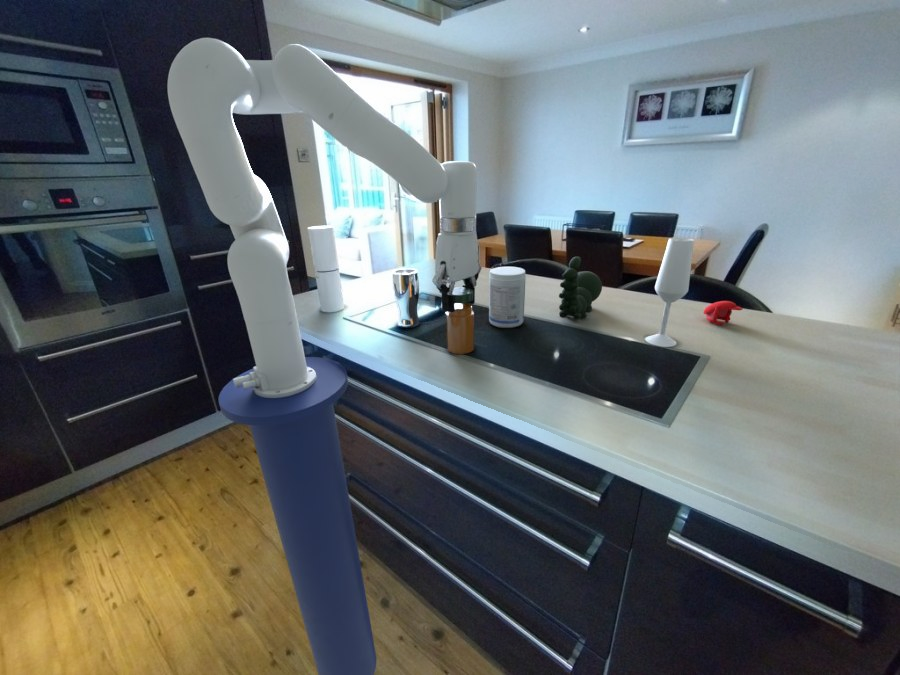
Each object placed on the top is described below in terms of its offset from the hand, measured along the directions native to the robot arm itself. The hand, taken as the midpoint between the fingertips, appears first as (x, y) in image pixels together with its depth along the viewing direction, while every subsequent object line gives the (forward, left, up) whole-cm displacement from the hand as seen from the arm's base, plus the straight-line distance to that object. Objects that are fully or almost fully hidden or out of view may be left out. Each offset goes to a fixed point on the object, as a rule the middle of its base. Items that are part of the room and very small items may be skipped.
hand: (458, 306), depth 88 cm
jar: (0, 0, -11) cm, 11 cm away
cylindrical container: (-12, +50, -11) cm, 52 cm away
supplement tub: (+20, +5, -11) cm, 24 cm away
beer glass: (-1, +22, -11) cm, 24 cm away
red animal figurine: (+62, -32, -11) cm, 71 cm away
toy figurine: (+41, -3, -11) cm, 43 cm away
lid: (0, 0, +3) cm, 3 cm away
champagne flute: (+39, -28, -11) cm, 50 cm away
